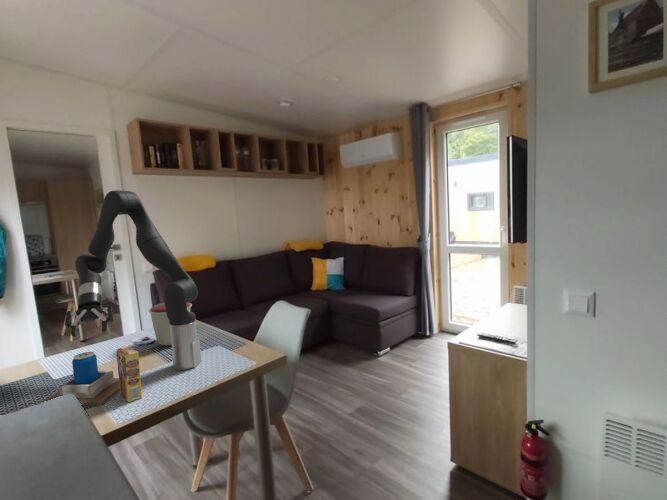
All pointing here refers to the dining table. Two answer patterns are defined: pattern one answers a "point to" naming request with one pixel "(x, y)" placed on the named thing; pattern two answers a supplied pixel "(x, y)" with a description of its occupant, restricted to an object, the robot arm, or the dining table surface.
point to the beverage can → (85, 368)
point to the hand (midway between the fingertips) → (89, 334)
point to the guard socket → (91, 390)
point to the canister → (162, 323)
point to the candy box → (129, 373)
